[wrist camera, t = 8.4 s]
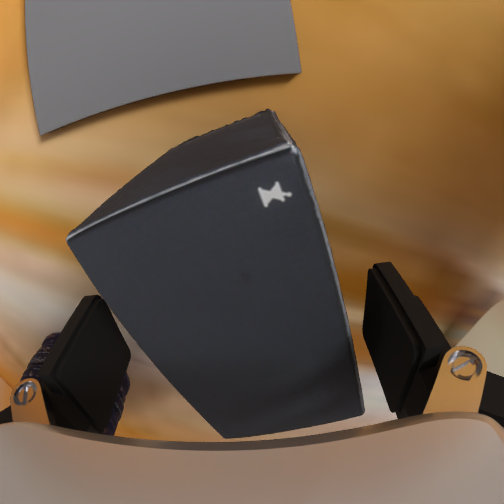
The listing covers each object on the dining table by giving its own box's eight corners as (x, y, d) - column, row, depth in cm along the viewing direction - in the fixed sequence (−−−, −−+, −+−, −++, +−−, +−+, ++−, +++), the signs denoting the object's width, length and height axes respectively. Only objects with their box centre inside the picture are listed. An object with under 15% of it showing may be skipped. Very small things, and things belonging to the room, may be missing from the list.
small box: (159, 151, 16) (47, 237, 6) (274, 105, 14) (307, 125, 5) (232, 300, 20) (219, 446, 11) (328, 271, 19) (373, 415, 10)
